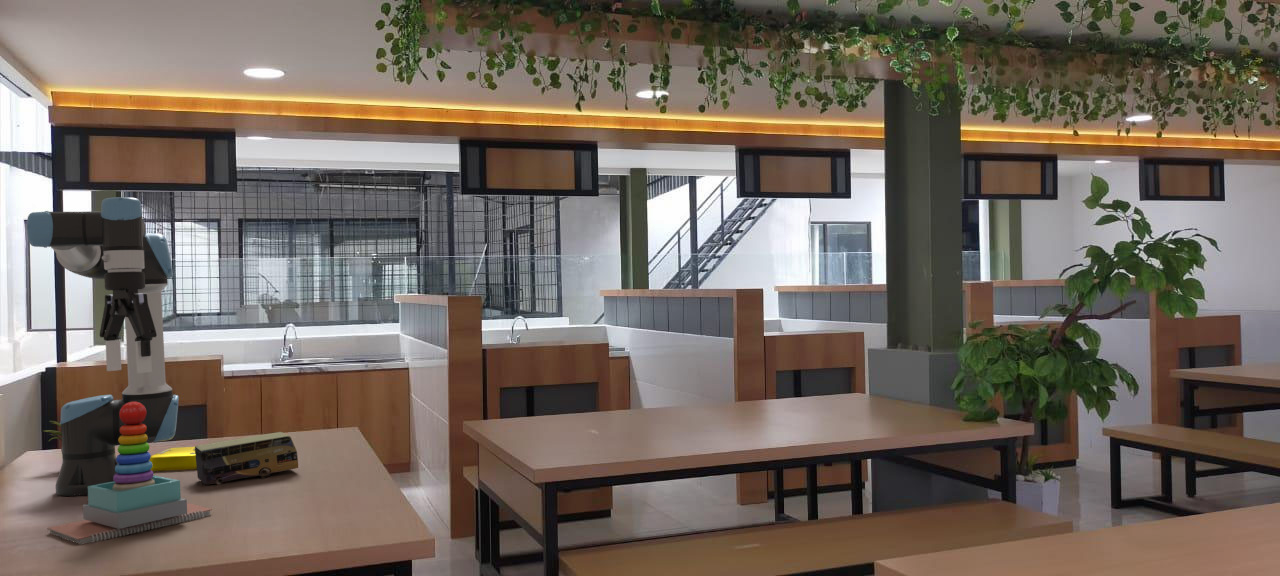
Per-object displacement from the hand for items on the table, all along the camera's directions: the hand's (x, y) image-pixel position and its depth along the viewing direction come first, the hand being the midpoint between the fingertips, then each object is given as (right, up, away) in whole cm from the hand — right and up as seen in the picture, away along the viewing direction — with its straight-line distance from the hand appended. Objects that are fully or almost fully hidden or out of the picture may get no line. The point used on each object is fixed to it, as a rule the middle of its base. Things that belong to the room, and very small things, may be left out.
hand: (129, 371), depth 201 cm
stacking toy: (+1, -25, 0) cm, 25 cm away
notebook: (0, -33, +2) cm, 33 cm away
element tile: (-22, -33, +70) cm, 80 cm away
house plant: (-53, -34, +72) cm, 96 cm away
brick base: (+1, -31, 0) cm, 31 cm away
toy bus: (+5, -32, +48) cm, 58 cm away
